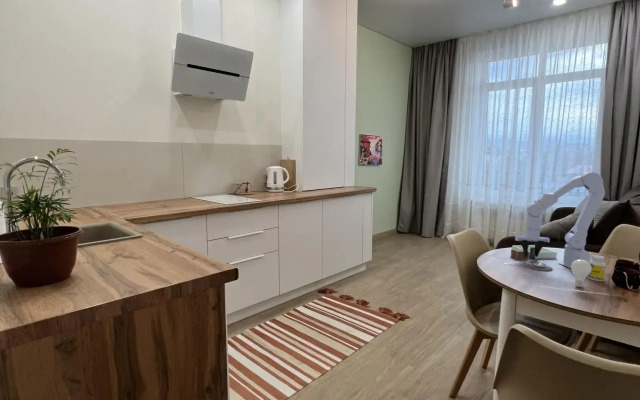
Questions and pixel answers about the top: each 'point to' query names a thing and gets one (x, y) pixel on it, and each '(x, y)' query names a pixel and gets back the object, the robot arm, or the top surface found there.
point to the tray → (542, 254)
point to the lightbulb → (580, 271)
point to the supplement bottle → (597, 268)
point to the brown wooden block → (518, 254)
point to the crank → (535, 262)
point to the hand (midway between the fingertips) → (530, 255)
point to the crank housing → (536, 267)
